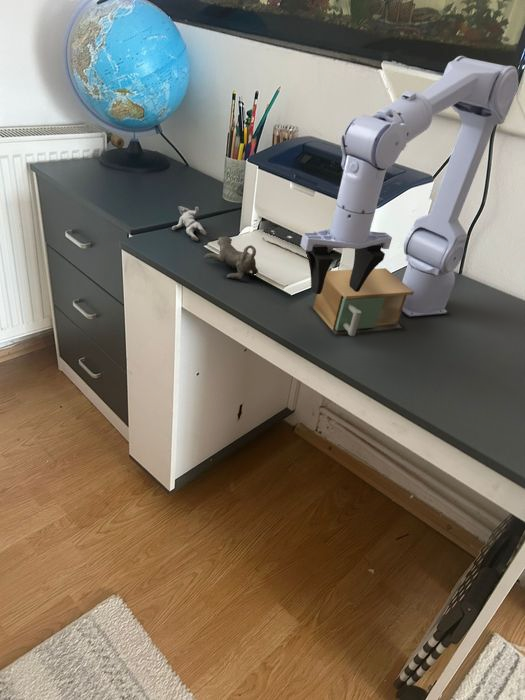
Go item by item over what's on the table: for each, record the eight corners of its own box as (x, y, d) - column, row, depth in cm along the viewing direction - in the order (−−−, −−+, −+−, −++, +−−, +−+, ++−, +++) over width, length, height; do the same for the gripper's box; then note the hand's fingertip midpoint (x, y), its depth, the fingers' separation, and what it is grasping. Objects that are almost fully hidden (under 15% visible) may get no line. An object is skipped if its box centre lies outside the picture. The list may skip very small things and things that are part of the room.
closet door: (373, 325, 96) (383, 294, 92) (385, 336, 93) (395, 306, 90) (334, 328, 93) (342, 297, 89) (345, 340, 90) (354, 309, 86)
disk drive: (260, 240, 123) (314, 262, 117) (262, 229, 122) (316, 250, 115) (285, 231, 131) (336, 250, 124) (286, 220, 129) (339, 239, 123)
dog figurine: (261, 280, 106) (267, 246, 102) (240, 286, 102) (245, 251, 98) (223, 257, 112) (226, 224, 108) (202, 262, 109) (205, 228, 105)
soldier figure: (180, 246, 116) (160, 211, 122) (192, 255, 121) (172, 221, 126) (208, 224, 115) (186, 190, 120) (218, 234, 119) (197, 201, 125)
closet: (374, 303, 105) (385, 268, 100) (401, 328, 98) (414, 291, 93) (312, 308, 99) (321, 270, 95) (336, 335, 92) (346, 296, 88)
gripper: (382, 198, 82) (361, 276, 89) (299, 196, 76) (283, 280, 84) (408, 214, 76) (383, 296, 84) (321, 214, 71) (302, 302, 78)
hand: (335, 290), depth 83 cm, fingers open, 6 cm apart
